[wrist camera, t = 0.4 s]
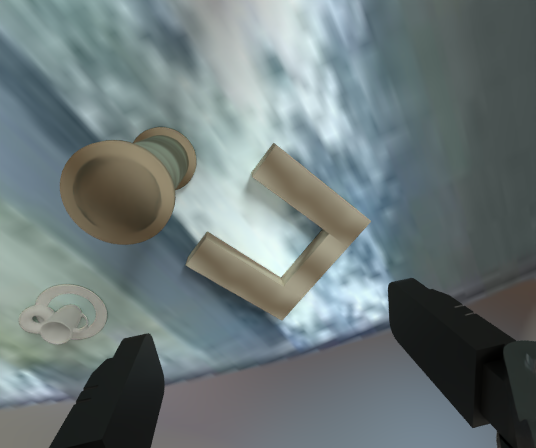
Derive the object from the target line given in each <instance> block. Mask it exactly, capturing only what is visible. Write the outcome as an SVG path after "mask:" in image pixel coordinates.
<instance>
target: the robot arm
mask: <svg viewBox="0 0 536 448" xmlns="http://www.w3.org/2000/svg"><path fill="white" fill-rule="evenodd" d="M388 301H389V322H390V327H391V330H392V333H393V335H394V337H395V339H396V340H397V341H398V343H399V344H400V345H401V346H402V347H403V348H404V350H405V351H406V352H407V353H408V354H409V355H410V357H411V358H412V359H413V360H414V361H415V362H416V364H417V365H418V366H419V367H420V368H421V369H422V370H423V371H424V373H425V374H426V375H427V376H428V377H429V378H430V380H431V381H432V382H433V383H434V384H435V385H436V387H437V388H438V389H439V390H440V391H441V392H442V393H443V395H444V396H445V397H446V398H447V399H448V400H449V401H450V403H451V404H452V405H453V406H454V407H455V408H456V410H457V411H458V412H459V413H460V414H461V415H462V416H463V417H464V419H465V420H466V421H467V422H468V423H469V425H470V426H471V427H472V428H475V427H478V426H482V425H486V424H491V425H492V426H493V427H494V428H495V429H496V430H497V436H496V441H497V448H536V342H534V341H516V340H514V339H513V338H511V337H510V336H509V335H507V334H505V333H504V332H503V331H501V330H500V329H498V328H497V327H495V326H494V325H492V324H491V323H489V322H488V321H486V320H485V319H483V318H482V317H480V316H479V315H477V314H474V313H473V311H471V310H470V309H469V308H467V307H466V306H463V305H462V304H461V303H460V302H458V301H457V300H455V299H454V298H452V297H451V296H449V295H447V294H444V293H442V292H439V291H436V290H434V289H428V288H427V287H425V286H424V285H423V284H421V283H420V282H418V281H417V280H415V279H414V278H409V279H404V280H399V281H395V282H391V283H389V285H388ZM164 386H165V384H164V374H163V371H162V367H161V364H160V361H159V357H158V354H157V351H156V348H155V344H154V341H153V338H152V336H151V335H150V334H149V333H147V334H143V335H138V336H133V337H129V338H124V339H123V340H122V341H121V343H120V345H119V347H118V349H117V351H116V353H115V355H114V357H113V358H109V359H106V360H105V361H104V362H103V363H102V364H101V365H100V366H99V367H98V368H97V369H96V370H95V371H94V372H93V373H92V375H91V376H90V378H89V380H88V381H87V383H86V385H85V387H84V391H82V392H81V393H80V395H79V397H78V399H77V400H76V404H75V405H74V406H73V407H72V409H71V411H70V412H69V414H68V416H67V418H66V419H65V421H64V423H63V425H62V426H61V428H60V430H59V432H58V433H57V435H56V436H55V438H54V440H53V442H52V443H51V445H50V447H49V448H150V447H151V444H152V440H153V436H154V432H155V427H156V423H157V419H158V415H159V411H160V407H161V403H162V399H163V395H164Z"/></svg>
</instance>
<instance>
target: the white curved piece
mask: <svg viewBox="0 0 536 448" xmlns="http://www.w3.org/2000/svg"><path fill="white" fill-rule="evenodd" d="M67 293H70V294H77V295H80V296H82V297H84V298H86V299H88V300H89V301H90V302H91V303H92V304H93V306H94V308H95V310H96V318H95V321H94V322H93V323H92V324H91V325H90V326H89V327H88V319H87V317H86V316H85V315H84V314H83V313H82V311H81V309H80V308H79V307H78V306H76V305H72V304H70V305H66V306H63V307H62V308H60V309H59V310H57V311H56V312H54V310H53V309H51V308H50V307H48V305H49V303H50V301H51V300H52V299H53V298H54V297H56V296H58V295H61V294H67ZM33 316H36V318H37V320H38V322H39V323H37V322H34V321H33V320H32V318H33ZM81 317H83V318H84V319H85V320H86V325H85V326H84V327H82V328H77V327H78V325H79V322H80V320H81ZM106 320H107V310H106V307H105V305H104V303H103V301H102V300H101V299H100V298H99V297H98V296H97V295H96V294H95V293H93V292H92V291H90V290H88V289H86V288H84V287H81V286H77V285H70V284H63V285H56V286H53V287H50V288H48V289H46V290H45V291H43V292H42V293H41V294H40V295H39V297H38V298H37V300H36V302H35V305H34V306H31V307H28V308H26V309H25V310H24V311H22V313H21V314H20V316H19V324H20V326H21V328H22V329H24V330H25V331H27V332H29V333H35V334H39V333H40V334H41V336H42V338H43V339H44V340H45V341H47V342H49V343H52V344H63V343H66V342H67V341H69V340H70V339H72V340H79V339H85V338H89V337H91V336H94V335H95V334H97V333H98V332H99V331H101V329H102V328H103V327H104V325H105V323H106Z"/></svg>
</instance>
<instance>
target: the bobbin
mask: <svg viewBox="0 0 536 448" xmlns="http://www.w3.org/2000/svg"><path fill="white" fill-rule="evenodd" d="M195 169H196V154H195V151H194V148H193V146H192V144H191V143H190V142H189V140H188V139H187V138H186V137H185V136H184V135H182V134H181V133H179V132H178V131H176V130H174V129H171V128H166V127H157V128H152V129H149V130H146V131H144V132H143V133H141V134H140V135H139V136H138V137H137V138H136V139H135V141H134V142H133V143H131V142H127V141H121V140H106V141H101V142H97V143H93V144H90V145H88V146H85V147H83V148H82V149H80V150H78V151H77V152H76V153H74V154H73V156H72V157H71V158H70V159H69V160H68V161H67V163H66V164H65V167H64V169H63V171H62V174H61V179H60V193H61V198H62V201H63V204H64V206H65V209H66V211H67V212H68V214H69V215H70V217H71V218H72V219H73V221H74V222H75V223H76V224H77V225H78V226H79V227H80V228H81V229H82V230H84V231H85V232H86V233H88V234H90V235H91V236H93V237H95V238H97V239H99V240H102V241H105V242H108V243H113V244H120V245H128V244H136V243H140V242H143V241H146V240H148V239H150V238H152V237H153V236H155V235H156V234H158V233H159V232H160V231H161V230H162V229H163V228H164V226H165V225H166V223H167V222H168V220H169V218H170V217H171V214H172V212H173V209H174V205H175V190H177V189H180V188H182V187H183V186H185V185H186V184H187V183H188V182H189V181H190V180H191V178H192V176H193V174H194V172H195Z"/></svg>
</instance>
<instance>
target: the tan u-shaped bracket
mask: <svg viewBox="0 0 536 448" xmlns="http://www.w3.org/2000/svg"><path fill="white" fill-rule="evenodd" d="M251 174H252V177H253V178H254V179H256V180H257V181H259V182H260V183H261V184H263V185H264V186H265V187H267V188H268V189H269V190H271V191H272V192H273V193H275V194H276V195H278V196H279V197H280V198H282V199H283V200H284V201H286V202H287V203H288V204H290V205H291V206H292V207H294V208H295V209H297V210H298V211H299V212H301V213H302V214H303V215H305V216H306V217H307V218H309V219H310V220H311V221H313V222H314V223H316V224H317V225H318V226H320V227H321V228H322V231H321V232H320V233H319V234H318V235H317V236H316V238H315V239H314V240H313V241H312V242H311V243H310V245H309V246H308V247H307V248H306V249H305V250H304V252H303V253H302V254H301V255H300V256H299V257H298V258H297V260H296V261H295V262H294V263H293V264H292V265H291V267H290V268H289V269H288V270H287V271H286V272H285V274H284V275H283V276H282V277H281V278H280V277H279V276H277V275H276V274H274V273H272V272H271V271H269V270H268V269H266V268H264V267H263V266H261V265H260V264H258V263H257V262H255V261H253V260H252V259H250V258H249V257H247V256H245V255H244V254H242V253H241V252H239V251H237V250H236V249H234V248H233V247H231V246H230V245H228V244H226V243H225V242H223V241H222V240H220V239H218V238H217V237H215V236H214V235H212V234H211V233H209V232H206V234H205V235H204V236H203V238H202V239H201V240H200V242H199V243H198V244H197V246H196V247H195V248H194V250H193V251H192V252H191V254H190V255H189V256H188V259H187V262H186V266H188V267H189V268H191V269H193V270H195V271H196V272H198V273H200V274H202V275H203V276H205V277H207V278H209V279H210V280H212V281H214V282H215V283H217V284H219V285H221V286H222V287H224V288H226V289H228V290H229V291H231V292H233V293H235V294H236V295H238V296H240V297H242V298H243V299H245V300H247V301H249V302H250V303H252V304H254V305H256V306H257V307H259V308H261V309H263V310H264V311H266V312H268V313H270V314H271V315H273V316H275V317H277V318H278V319H280V320H283V319H284V318H285V317H286V316H287V315H288V313H289V312H290V311H291V310H292V309H293V308H294V307H295V306H296V305H297V303H298V302H299V301H300V300H301V299H302V298H303V297H304V296H305V295H306V293H307V292H308V291H309V290H310V289H311V288H312V287H313V286H314V284H315V283H316V282H317V281H318V280H319V279H320V278H321V277H322V276H323V274H324V273H325V272H326V271H327V270H328V269H329V268H330V267H331V266H332V264H333V263H334V262H335V261H336V260H337V259H338V258H339V257H340V256H341V254H342V253H343V252H344V251H345V250H346V249H347V248H348V247H349V245H350V244H351V243H352V242H353V241H354V240H355V239H356V238H357V237H358V235H359V234H360V233H361V232H362V231H363V230H364V229H365V228H366V227H367V225H368V224H369V223H370V222H371V221H370V220H369V219H368V218H367V217H365V216H364V215H363V214H362V213H360V212H359V211H358V210H357V209H355V208H354V207H353V206H352V205H350V204H349V203H348V202H347V201H345V200H344V199H343V198H342V197H340V196H339V195H338V194H337V193H336V192H334V191H333V190H332V189H331V188H329V187H328V186H327V185H326V184H324V183H323V182H322V181H321V180H319V179H318V178H317V177H316V176H314V175H313V174H312V173H311V172H309V171H308V170H307V169H306V168H304V167H303V166H302V165H301V164H299V163H298V162H297V161H296V160H294V159H293V158H292V157H291V156H289V155H288V154H287V153H286V152H285V151H283V150H282V149H281V148H280V147H278V146H277V145H276V144H274V143H273V144H272V146H271V147H270V148H269V150H268V151H267V152H266V154H265V155H264V156H263V158H262V159H261V160H260V162H259V163H258V164H257V166H256V167H255V168H254V170H253V171H252V172H251Z"/></svg>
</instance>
